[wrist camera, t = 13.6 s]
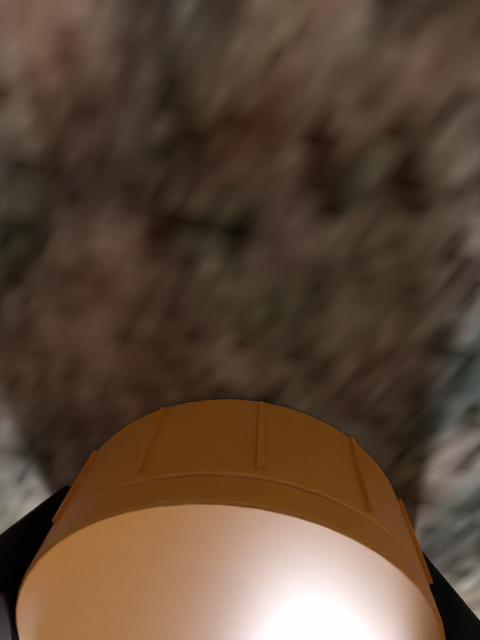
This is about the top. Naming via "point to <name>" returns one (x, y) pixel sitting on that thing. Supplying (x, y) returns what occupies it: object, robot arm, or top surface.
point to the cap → (229, 537)
